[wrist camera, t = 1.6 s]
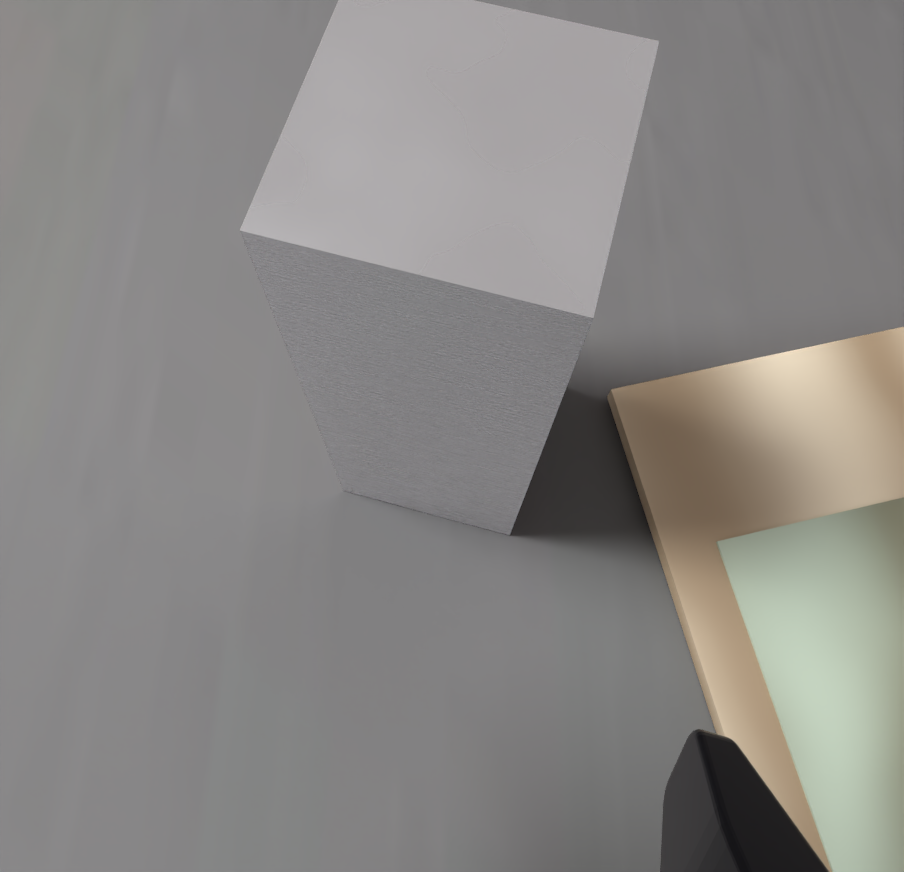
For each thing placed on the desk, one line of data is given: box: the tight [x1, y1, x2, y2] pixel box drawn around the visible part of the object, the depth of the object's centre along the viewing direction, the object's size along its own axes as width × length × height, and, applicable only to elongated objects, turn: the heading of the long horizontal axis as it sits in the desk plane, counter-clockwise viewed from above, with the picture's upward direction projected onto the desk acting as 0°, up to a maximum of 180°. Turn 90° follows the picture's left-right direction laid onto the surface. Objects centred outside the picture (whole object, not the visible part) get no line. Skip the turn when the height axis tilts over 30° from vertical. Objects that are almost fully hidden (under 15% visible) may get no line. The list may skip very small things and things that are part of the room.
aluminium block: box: [240, 0, 659, 536], centre depth 18 cm, size 5×5×13 cm
